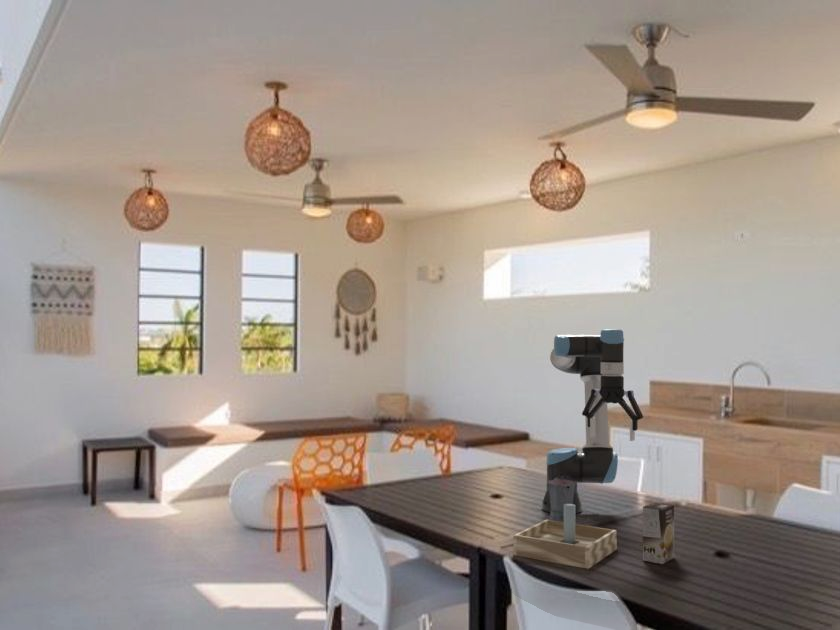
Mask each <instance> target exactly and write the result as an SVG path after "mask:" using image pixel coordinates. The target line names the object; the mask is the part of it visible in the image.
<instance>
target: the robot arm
mask: <svg viewBox="0 0 840 630" xmlns="http://www.w3.org/2000/svg"><path fill="white" fill-rule="evenodd" d="M624 341H625V338H624V330H622V329H620V328H619V329H612V328H610V329H607V328H606V329H605V328H604V329H601V331H600V334H575V335H574V334H557V335H555V336H554V339H553V349H552V351H551V352H550V356H549V357H550V358H549V359H550V362H551V365H552V366H553V367H554V368H555V369H556V370H559V371H560V372H563V373H566V374H571V375H572V374H573V375H575V374H576V375H579V376H580V377H579V378H580V380H581V381H582V382H583V383H584V409H583V411H582V413H581V415H582V416H584V417H585V419H584V420H585V444H584V445H583V446H582V448H581V449H582V451H578V449H577V448H576V447H561V448H554V449H551V450H550V451H548V452H547V455H546V462H545V465H546V489H545V493H544V496H543V499H542V502H541V509H542V511H545V512H548V513H550V511H551V504H550V496H549V486H548V482H549V481H550V480H552V479H553V476H555V477H556V478H559V479H560V476H559V475H561V474H563V475H564V478H563V479H566V480H570V481H574V482H575V489H574V497H573V504H574V505H575V514H577V513H578V514H579V513H581V512H582V511H583V504H582V501H581V497H580V495H579V494H580V493H579V491H578V484H581V483H582V484H601V485H602V484H612V483H613V482H615V480H616V477H617V472H618V463H619V459H618V453H617V452H615V451H614V447H613V446H612V445H611V444H610V438H609V419H608V417H609V416H608V411H609V410H608V404H611V403H612V404H618V405H620V406H621V408H623V410H624V411H625V413H626V414H627V415H628V416H629V418H630V419H631V420H629V441H630V442H633V441H635V440H636V439H635V437H636V431H638V426H639V425H638V421H639V420H642V419H643V418H644V415H643V413H642V410H641V409H640V407H639V406H640V405H639V404H638V403H637V401H636V398H635V395H634V391H633V389H630V390H625V389H624V385H625V384H624V383H625V382H624V376H623V375H624V374H625V372H624V367H625V366H624V363H625V362H624ZM624 396H626V398H627V399H628V401H629V402H630V405H631V407H632V409H631V407H630V406H629V405H628V403H627V402H626V400H625V399H624Z"/></svg>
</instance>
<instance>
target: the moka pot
mask: <svg viewBox="0 0 840 630" xmlns="http://www.w3.org/2000/svg"><path fill="white" fill-rule="evenodd" d="M559 476H560V479H559V478H556V477H555V476H553V479H552V480H550V481H549V482H548V486H549V496H550V504H551V511H550V512H549V519H548V520H552V521H559V522H564V504H573V497H574V489H575V482H574V481H570V480H566V479H563V478H564V475H563V474H561V475H559Z"/></svg>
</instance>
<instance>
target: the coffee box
mask: <svg viewBox="0 0 840 630" xmlns="http://www.w3.org/2000/svg"><path fill="white" fill-rule="evenodd" d="M674 558H675V505H674V504H670V503H662V502H652V503H649V504H647V505H646V504H645V505H644V506H643V507H642V561H644V562H650V563H655V564H658V563H659V564H660V565H664V564H665V563H667V562H669V561H671V560H673V559H674Z"/></svg>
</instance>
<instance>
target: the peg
mask: <svg viewBox="0 0 840 630" xmlns="http://www.w3.org/2000/svg"><path fill="white" fill-rule="evenodd" d="M575 524H576V513H575V505H574V504H564V543H569V544H575Z"/></svg>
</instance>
